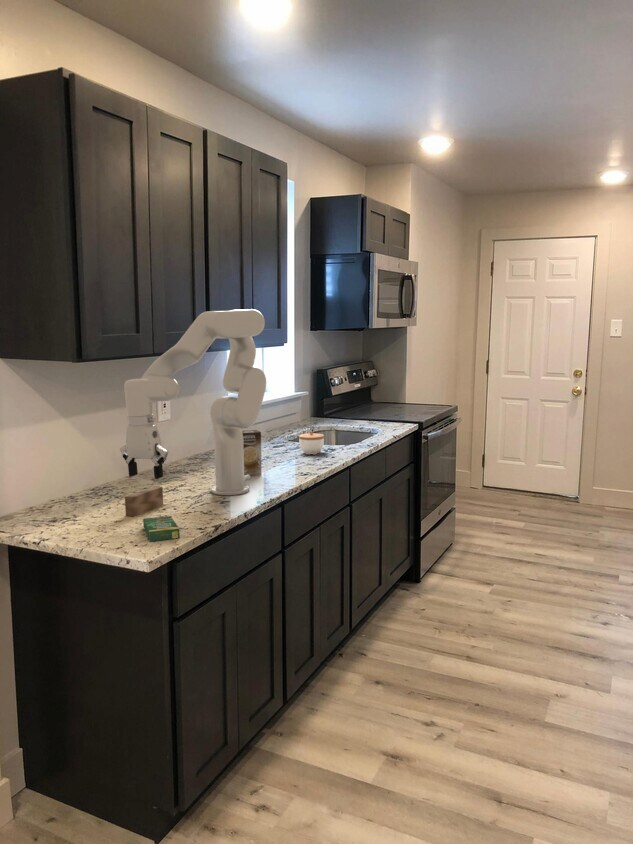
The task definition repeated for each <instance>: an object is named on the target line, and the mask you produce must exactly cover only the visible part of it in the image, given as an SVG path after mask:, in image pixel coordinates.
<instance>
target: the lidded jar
mask: <svg viewBox="0 0 633 844" xmlns="http://www.w3.org/2000/svg"><path fill="white" fill-rule="evenodd" d="M298 439H299V441H298V442H299V447H300V450H301V451H302V452H303V453H304V454H305V455H310V454H313V455H318V454H317V453H319V454H320V452H321V451H322V450H323V447H324V443H325V434H323V433H317V432H316V433H315V432H314V431H310V433H308V432H307V433H301V434H299V435H298Z"/></svg>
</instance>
